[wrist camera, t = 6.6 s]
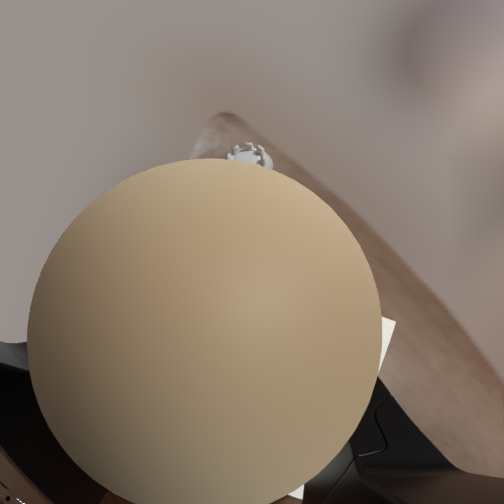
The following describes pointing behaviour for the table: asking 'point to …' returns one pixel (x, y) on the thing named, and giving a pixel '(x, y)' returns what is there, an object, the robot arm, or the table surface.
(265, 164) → the rook chess piece
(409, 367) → the table surface
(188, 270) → the peg
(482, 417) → the table surface
